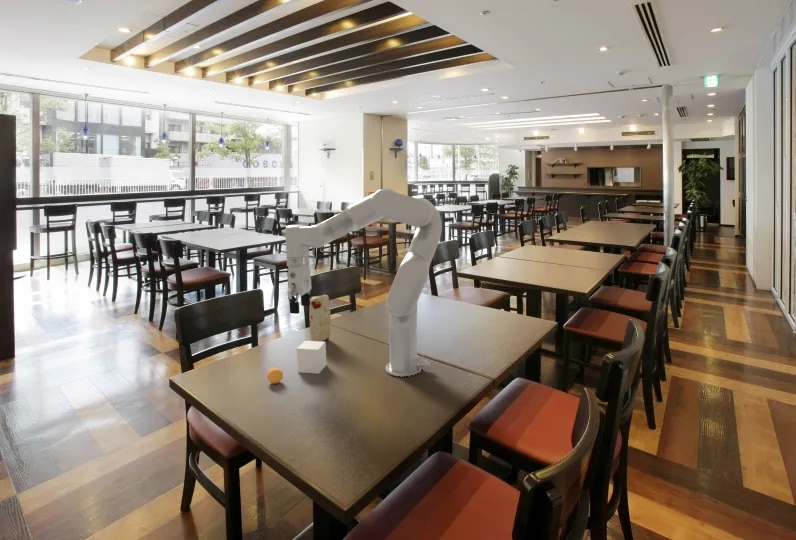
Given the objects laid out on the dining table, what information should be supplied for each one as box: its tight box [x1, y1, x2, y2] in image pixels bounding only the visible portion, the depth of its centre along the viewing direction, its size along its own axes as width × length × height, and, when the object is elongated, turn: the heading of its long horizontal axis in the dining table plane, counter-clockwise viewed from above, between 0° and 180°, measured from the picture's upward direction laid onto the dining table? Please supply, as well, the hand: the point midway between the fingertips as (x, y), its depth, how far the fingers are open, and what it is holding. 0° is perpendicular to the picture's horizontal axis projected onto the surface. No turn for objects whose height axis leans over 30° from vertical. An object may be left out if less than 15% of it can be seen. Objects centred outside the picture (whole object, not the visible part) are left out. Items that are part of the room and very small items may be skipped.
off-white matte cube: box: [296, 340, 327, 375], centre depth 161 cm, size 8×8×9 cm
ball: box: [266, 367, 284, 384], centre depth 150 cm, size 5×5×5 cm
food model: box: [308, 294, 332, 343], centre depth 186 cm, size 10×7×20 cm
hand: (300, 309), depth 160 cm, fingers open, 9 cm apart
